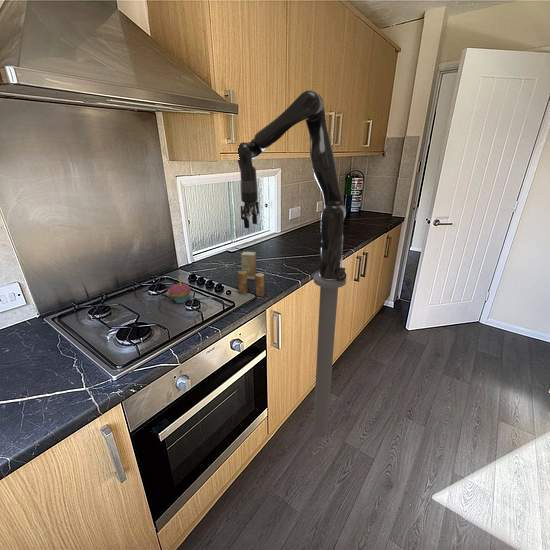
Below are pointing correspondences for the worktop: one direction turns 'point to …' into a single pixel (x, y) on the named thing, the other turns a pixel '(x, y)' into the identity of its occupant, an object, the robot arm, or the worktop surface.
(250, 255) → the cosmetic box
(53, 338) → the worktop surface
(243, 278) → the oak pegs
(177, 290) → the cupcake
